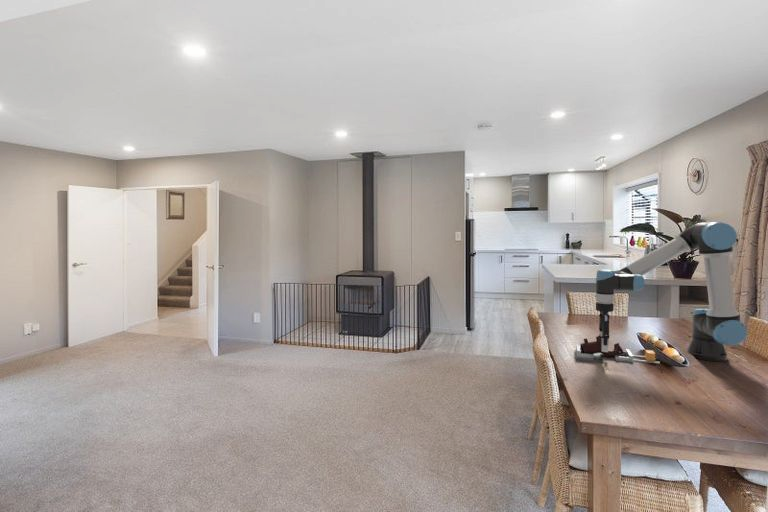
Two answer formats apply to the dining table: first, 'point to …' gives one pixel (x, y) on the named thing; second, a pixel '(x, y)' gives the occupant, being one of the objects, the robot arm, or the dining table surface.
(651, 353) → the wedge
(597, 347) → the dark brown irregular piece
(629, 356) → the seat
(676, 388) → the dining table surface
